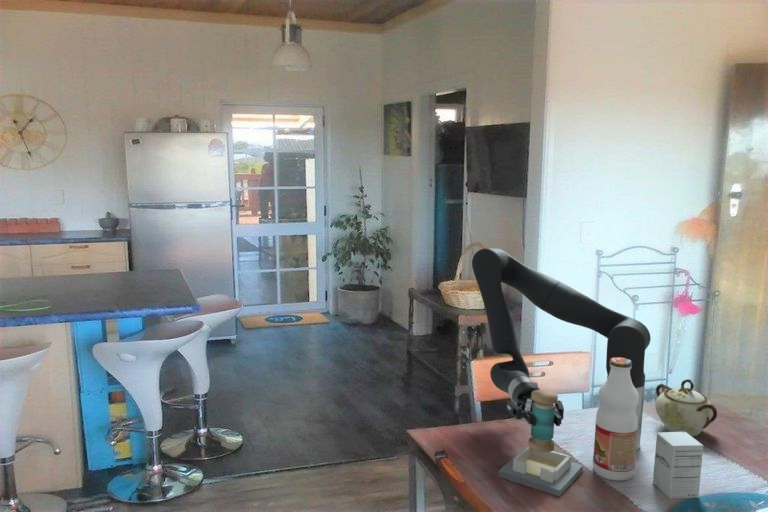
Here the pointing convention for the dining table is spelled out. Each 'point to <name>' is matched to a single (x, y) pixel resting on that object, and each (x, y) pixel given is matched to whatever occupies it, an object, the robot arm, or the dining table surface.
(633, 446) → the fruit juice
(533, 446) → the spool
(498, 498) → the dining table surface
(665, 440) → the supplement box
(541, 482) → the white grey square tray
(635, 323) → the robot arm
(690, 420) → the sugar bowl
